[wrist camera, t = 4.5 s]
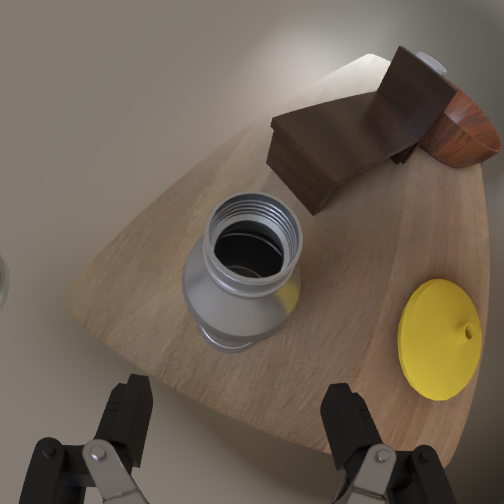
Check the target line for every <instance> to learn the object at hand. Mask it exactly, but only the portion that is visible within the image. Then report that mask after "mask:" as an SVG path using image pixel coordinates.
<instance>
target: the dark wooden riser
mask: <svg viewBox="0 0 504 504" xmlns="http://www.w3.org/2000/svg"><path fill="white" fill-rule="evenodd" d="M457 92H458V90H457V89H456V88H455V87H454V86H453V85H452V84H451V83H450V82H448V81H447V80H446V79H445V78H444V77H443V76H441V75H440V74H439V73H438V72H436V71H435V70H434V69H433V68H431V67H430V66H429V65H428V64H426V63H425V62H424V61H422V60H421V59H420V58H418V57H417V56H416V55H414V54H413V53H411V52H410V51H409V50H407V49H406V48H404V47H402V46H399V47H398V49H397V52H396V54H395V56H394V58H393V60H392V62H391V64H390V66H389V68H388V70H387V72H386V74H385V76H384V78H383V80H382V82H381V84H380V86H379V88H378V90H377V91H375V92H369V93H364V94H360V95H355V96H350V97H346V98H341V99H337V100H333V101H329V102H325V103H321V104H317V105H314V106H310V107H306V108H303V109H299V110H296V111H292V112H289V113H286V114H283V115H279V116H276V117H273V118H272V122H271V127H272V128H273V129H274V132H273V136H272V140H271V144H270V148H269V153H268V157H267V161H266V163H267V164H268V165H269V166H270V167H271V169H272V170H273V171H274V172H275V173H276V174H277V175H278V176H279V177H280V179H281V180H282V181H283V182H284V183H285V184H286V185H287V186H288V188H289V189H290V190H291V191H292V192H293V193H294V194H295V195H296V197H297V198H298V199H299V200H300V201H301V202H302V204H303V205H304V206H305V207H306V208H307V209H308V211H309V212H310V213H311V214H312V215H315V214H317V213H318V212H320V211H321V210H322V208H323V207H324V205H325V204H326V202H327V200H328V199H329V197H330V195H331V194H332V192H333V190H334V189H335V187H337V186H339V185H341V184H343V183H344V182H346V181H348V180H350V179H352V178H353V177H355V176H357V175H359V174H361V173H362V172H364V171H366V170H368V169H370V168H371V167H373V166H375V165H377V164H379V163H380V162H382V161H384V160H386V159H388V158H391V159H392V160H393V161H394V162H395V163H396V164H399V163H402V164H404V163H406V162H407V160H408V159H409V158H410V157H411V155H412V154H413V153H414V151H415V150H416V149H417V147H418V146H419V145H420V143H421V142H422V141H423V139H424V138H425V137H426V135H427V134H428V133H429V131H430V130H431V129H432V127H433V126H434V124H435V123H436V122H437V120H438V119H439V118H440V116H441V115H442V113H443V112H444V110H445V109H446V108H447V106H448V105H449V103H450V102H451V100H452V99H453V97H454V96H455V94H456V93H457Z"/></svg>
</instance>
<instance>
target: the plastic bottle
mask: <svg viewBox="0 0 504 504" xmlns="http://www.w3.org/2000/svg"><path fill="white" fill-rule="evenodd" d="M302 244H303V234H302V230H301V225H300V223H299V221H298V218H297V217H296V215H295V214H294V212H293V211H292V210H291V209H290V207H289V206H288V205H287V204H286V203H284V202H283V201H281V200H280V199H279V198H277V197H275V196H273V195H271V194H268V193H264V192H260V191H242V192H237V193H234V194H232V195H229V196H227V197H226V198H224V199H223V200H221V201H220V202H219V203H218V204H217V205H216V206H215V207H214V208H213V210H212V211H211V213H210V215H209V217H208V220H207V222H206V225H205V232H204V235H203V236H202V237H201V238H200V239H199V241H198V242H197V243H196V244H195V246H194V247H193V249H192V250H191V252H190V254H189V256H188V258H187V260H186V263H185V266H184V269H183V275H182V291H183V295H184V299H185V303H186V305H187V307H188V309H189V311H190V313H191V315H192V316H193V317H194V319H195V320H196V321H197V325H198V329H199V332H200V334H201V336H202V338H203V339H204V340H205V341H206V343H207V344H209V345H210V346H211V347H212V348H214V349H216V350H218V351H221V352H224V353H239V352H242V351H245V350H247V349H249V348H251V347H252V346H253V345H254V344H255V343H256V342H257V341H259V340H262V339H265V338H267V337H269V336H271V335H272V334H274V333H276V332H277V331H279V330H280V329H281V328H282V327H283V326H284V325H285V324H286V323H287V322H288V320H289V319H290V317H291V316H292V315H293V313H294V310H295V308H296V306H297V303H298V299H299V294H300V271H299V266H298V263H297V261H298V259H299V256H300V254H301V249H302Z"/></svg>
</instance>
